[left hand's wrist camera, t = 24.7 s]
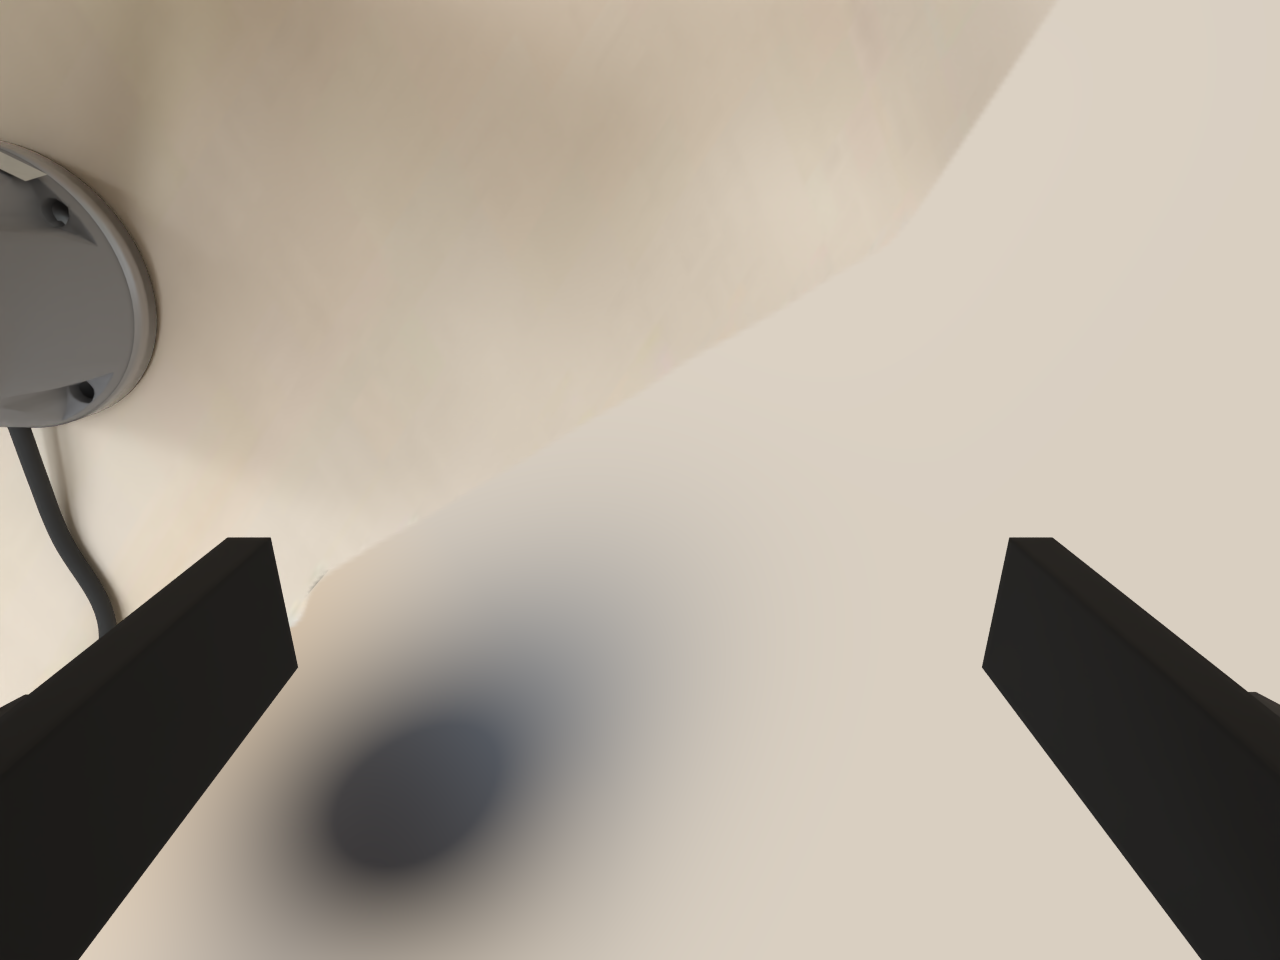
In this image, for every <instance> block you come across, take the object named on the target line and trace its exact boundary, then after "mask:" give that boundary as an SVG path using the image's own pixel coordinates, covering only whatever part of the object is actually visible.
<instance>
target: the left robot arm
mask: <svg viewBox="0 0 1280 960" xmlns="http://www.w3.org/2000/svg"><path fill="white" fill-rule="evenodd" d="M156 329H157V314H156V303H155V297H154V292H153V288H152V284H151V280H150V277H149V274H148V271H147V268H146V266H145V263H144V261H143V259H142V257H141V254H140V252H139V250H138V248H137V247H136V245H135V243H134V241H133V239H132V238H131V236H130V235H129V233H128V231H127V230H126V228H125V227H124V225H123V224H122V223H121V221H120V220H119V219H118V217H117V216H116V215H115V213H114V212H113V211H112V210H111V209H110V208H109V207H108V205H107V204H106V203H105V202H104V201H103V200H102V199H101V198H100V197H99V196H98V195H97V194H96V193H95V192H94V191H93V190H92V189H91V188H90V187H88V186H87V185H86V184H85V183H84V182H82V181H81V180H80V179H79V178H78V177H76V176H75V175H73V174H72V173H71V172H69V171H68V170H66V169H65V168H63V167H62V166H60V165H58V164H57V163H55V162H53V161H52V160H50V159H48V158H46V157H44V156H42V155H40V154H38V153H36V152H34V151H31V150H29V149H26V148H24V147H21V146H18V145H14V144H11V143H8V142H4V141H0V427H8V430H9V432H10V435H11V438H12V440H13V443H14V446H15V449H16V451H17V454H18V457H19V460H20V462H21V465H22V468H23V470H24V473H25V476H26V478H27V481H28V484H29V486H30V489H31V492H32V494H33V497H34V500H35V502H36V505H37V508H38V510H39V513H40V515H41V518H42V520H43V523H44V525H45V527H46V530H47V532H48V534H49V536H50V538H51V540H52V542H53V544H54V546H55V548H56V549H57V551H58V553H59V555H60V556H61V558H62V559H63V561H64V562H65V564H66V565H67V567H68V568H69V570H70V571H71V573H72V574H73V576H74V577H75V579H76V580H77V582H78V583H79V585H80V586H81V588H82V589H83V591H84V593H85V594H86V596H87V598H88V599H89V601H90V603H91V605H92V608H93V610H94V613H95V616H96V619H97V623H98V629H99V639H98V640H97V641H96V642H95V643H93V644H92V645H91V646H90V647H88V648H87V649H86V650H85V651H83V652H82V653H81V654H79V655H78V656H77V657H76V658H74V659H73V660H72V661H71V662H69V663H68V664H67V665H66V666H64V667H63V668H62V669H60V670H59V671H58V672H57V673H55V674H54V675H53V676H52V677H50V678H49V679H48V680H47V681H45V682H44V683H43V684H41V685H40V686H39V687H38V688H36V689H35V690H34V691H33V692H31V693H30V694H29V695H23V696H21V697H20V698H18V699H16V700H14V701H12V702H10V703H8V704H6V705H4V706H3V707H1V708H0V960H79V958H80V957H81V956H82V954H83V953H84V952H85V950H86V949H87V948H88V946H89V945H90V944H91V942H92V941H93V940H94V938H95V937H96V936H97V934H98V933H99V932H100V930H101V929H102V928H103V926H104V925H105V924H106V922H107V921H108V920H109V918H110V917H111V916H112V914H113V913H114V912H115V910H116V909H117V908H118V906H119V905H120V904H121V902H122V901H123V900H124V898H125V897H126V896H127V894H128V893H129V892H130V890H131V889H132V888H133V887H134V885H135V884H136V883H137V881H138V880H139V879H140V877H141V876H142V875H143V873H144V872H145V871H146V869H147V868H148V866H149V865H150V864H151V863H152V861H153V860H154V858H155V857H156V856H157V855H158V853H159V852H160V851H161V849H162V848H163V846H164V845H165V844H166V843H167V841H168V840H169V839H170V837H171V836H172V835H173V833H174V832H175V831H176V829H177V828H178V827H179V825H180V824H181V823H182V821H183V820H184V819H185V817H186V816H187V814H188V813H189V812H190V811H191V809H192V808H193V807H194V805H195V804H196V803H197V801H198V800H199V799H200V797H201V796H202V795H203V793H204V792H205V791H206V789H207V788H208V787H209V785H210V784H211V783H212V781H213V780H214V779H215V777H216V776H217V774H218V773H219V772H220V771H221V769H222V768H223V767H224V765H225V764H226V763H227V761H228V760H229V759H230V757H231V756H232V755H233V753H234V752H235V751H236V749H237V748H238V747H239V745H240V744H241V743H242V741H243V740H244V739H245V737H246V736H247V735H248V733H249V732H250V731H251V729H252V728H253V727H254V725H255V724H256V723H257V721H258V720H259V719H260V717H261V716H262V715H263V713H264V712H265V711H266V709H267V708H268V707H269V705H270V704H271V703H272V701H273V700H274V699H275V697H276V696H277V695H278V693H279V692H280V691H281V689H282V688H283V687H284V685H285V684H286V683H287V681H288V680H289V679H290V677H291V676H292V675H293V673H294V672H295V671H296V669H297V668H298V665H297V660H296V655H295V651H294V646H293V641H292V636H291V632H290V627H289V622H288V617H287V613H286V608H285V603H284V599H283V594H282V589H281V584H280V580H279V575H278V570H277V565H276V561H275V556H274V551H273V546H272V542H271V538H226V539H225V540H224V541H223V542H221V543H220V544H219V545H217V546H216V547H215V548H214V549H212V550H211V551H210V552H209V553H207V554H206V555H205V556H204V557H202V558H201V559H200V560H198V561H197V562H196V563H195V564H193V565H192V566H191V567H190V568H188V569H187V570H186V571H185V572H183V573H182V574H181V575H179V576H178V577H177V578H176V579H174V580H173V581H172V582H171V583H169V584H168V585H167V586H166V587H164V588H163V589H162V590H160V591H159V592H158V593H157V594H155V595H154V596H153V597H152V598H150V599H149V600H148V601H147V602H145V603H144V604H143V605H141V606H140V607H139V608H138V609H136V610H135V611H134V612H133V613H131V614H130V615H129V616H128V617H126V618H125V619H124V620H122V621H121V622H120V623H119V624H117V625H116V619H115V614H114V611H113V607H112V605H111V602H110V600H109V598H108V596H107V594H106V591H105V590H104V588H103V586H102V584H101V583H100V581H99V580H98V578H97V576H96V575H95V573H94V572H93V570H92V569H91V567H90V566H89V564H88V563H87V561H86V560H85V558H84V557H83V555H82V554H81V552H80V551H79V549H78V547H77V546H76V544H75V542H74V540H73V539H72V537H71V535H70V532H69V530H68V528H67V526H66V524H65V521H64V519H63V517H62V514H61V512H60V509H59V506H58V504H57V501H56V498H55V495H54V492H53V489H52V486H51V484H50V481H49V478H48V475H47V472H46V470H45V467H44V464H43V461H42V458H41V456H40V453H39V450H38V447H37V444H36V441H35V438H34V436H33V433H32V430H31V428H42V427H51V426H57V425H62V424H66V423H69V422H72V421H75V420H78V419H81V418H84V417H86V416H89V415H92V414H94V413H97V412H100V411H102V410H104V409H106V408H108V407H110V406H112V405H113V404H115V403H117V402H118V401H120V400H121V399H122V398H123V397H125V396H126V395H127V394H128V393H129V392H130V391H131V390H132V389H133V388H134V387H135V386H136V384H137V383H138V381H139V380H140V379H141V377H142V376H143V374H144V372H145V370H146V368H147V366H148V364H149V361H150V359H151V356H152V353H153V349H154V345H155V339H156ZM317 583H318V582H317ZM314 587H315V586H314ZM314 587H313V588H314ZM982 668H983V669H984V671H985V672H986V673H987V675H988V676H989V677H990V679H991V680H992V681H993V683H994V684H995V685H996V687H997V688H998V689H999V691H1000V692H1001V693H1002V695H1003V696H1004V697H1005V699H1006V700H1007V701H1008V703H1009V704H1010V705H1011V707H1012V708H1013V709H1014V711H1015V712H1016V713H1017V715H1018V716H1019V717H1020V719H1021V720H1022V721H1023V723H1024V724H1025V725H1026V727H1027V728H1028V729H1029V731H1030V732H1031V733H1032V735H1033V736H1034V737H1035V739H1036V740H1037V741H1038V743H1039V744H1040V745H1041V747H1042V748H1043V749H1044V751H1045V752H1046V753H1047V755H1048V756H1049V757H1050V759H1051V760H1052V761H1053V763H1054V764H1055V765H1056V767H1057V768H1058V769H1059V771H1060V772H1061V773H1062V775H1063V776H1064V777H1065V779H1066V780H1067V781H1068V783H1069V784H1070V785H1071V786H1072V788H1073V789H1074V791H1075V792H1076V793H1077V795H1078V796H1079V797H1080V799H1081V800H1082V801H1083V803H1084V804H1085V805H1086V807H1087V808H1088V809H1089V811H1090V812H1091V813H1092V815H1093V816H1094V817H1095V819H1096V820H1097V821H1098V823H1099V824H1100V825H1101V826H1102V828H1103V829H1104V831H1105V832H1106V833H1107V835H1108V836H1109V837H1110V839H1111V840H1112V841H1113V843H1114V844H1115V845H1116V846H1117V848H1118V849H1119V850H1120V852H1121V853H1122V855H1123V856H1124V857H1125V859H1126V860H1127V861H1128V862H1129V864H1130V865H1131V867H1132V868H1133V869H1134V871H1135V872H1136V873H1137V875H1138V876H1139V877H1140V879H1141V880H1142V881H1143V882H1144V884H1145V885H1146V887H1147V888H1148V889H1149V890H1150V892H1151V893H1152V894H1153V896H1154V897H1155V898H1156V900H1157V901H1158V902H1159V904H1160V905H1161V906H1162V908H1163V909H1164V910H1165V912H1166V913H1167V914H1168V916H1169V917H1170V918H1171V920H1172V921H1173V922H1174V924H1175V925H1176V926H1177V928H1178V929H1179V930H1180V932H1181V933H1182V934H1183V936H1184V937H1185V938H1186V940H1187V941H1188V942H1189V944H1190V945H1191V946H1192V948H1193V949H1194V950H1195V952H1196V953H1197V954H1198V956H1199V957H1200V958H1201V960H1280V705H1279V704H1278V703H1276V702H1274V701H1272V700H1270V699H1268V698H1266V697H1264V696H1262V695H1260V694H1258V693H1257V692H1247V691H1246V690H1245V689H1243V688H1242V687H1241V686H1240V685H1239V684H1237V683H1236V682H1235V681H1233V680H1232V679H1231V678H1230V677H1228V676H1227V675H1226V674H1225V673H1223V672H1222V671H1221V670H1220V669H1218V668H1217V667H1216V666H1214V665H1213V664H1212V663H1211V662H1209V661H1208V660H1207V659H1206V658H1204V657H1203V656H1202V655H1201V654H1199V653H1198V652H1197V651H1195V650H1194V649H1193V648H1192V647H1190V646H1189V645H1188V644H1187V643H1185V642H1184V641H1183V640H1182V639H1180V638H1179V637H1178V636H1176V635H1175V634H1174V633H1173V632H1171V631H1170V630H1169V629H1168V628H1166V627H1165V626H1164V625H1163V624H1161V623H1160V622H1159V621H1158V620H1156V619H1155V618H1154V617H1152V616H1151V615H1150V614H1149V613H1147V612H1146V611H1145V610H1144V609H1142V608H1141V607H1140V606H1139V605H1137V604H1136V603H1135V602H1133V601H1132V600H1131V599H1130V598H1128V597H1127V596H1126V595H1125V594H1123V593H1122V592H1121V591H1120V590H1118V589H1117V588H1116V587H1114V586H1113V585H1112V584H1111V583H1109V582H1108V581H1107V580H1106V579H1104V578H1103V577H1102V576H1100V575H1099V574H1098V573H1097V572H1095V571H1094V570H1093V569H1092V568H1090V567H1089V566H1088V565H1087V564H1085V563H1084V562H1083V561H1081V560H1080V559H1079V558H1078V557H1076V556H1075V555H1074V554H1073V553H1071V552H1070V551H1069V550H1068V549H1066V548H1065V547H1064V546H1063V545H1061V544H1060V543H1059V542H1057V541H1056V540H1055V539H1054V538H1009V542H1008V546H1007V551H1006V556H1005V561H1004V565H1003V570H1002V575H1001V580H1000V584H999V589H998V594H997V599H996V603H995V608H994V613H993V617H992V622H991V627H990V632H989V637H988V641H987V646H986V651H985V656H984V660H983V665H982Z"/></svg>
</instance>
